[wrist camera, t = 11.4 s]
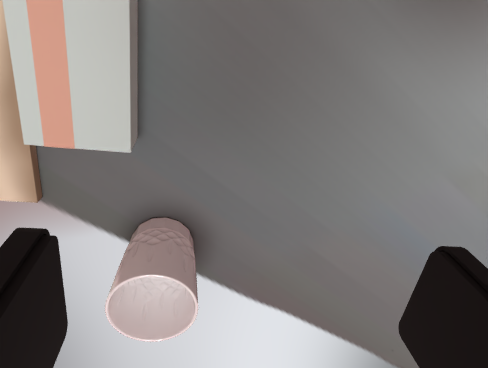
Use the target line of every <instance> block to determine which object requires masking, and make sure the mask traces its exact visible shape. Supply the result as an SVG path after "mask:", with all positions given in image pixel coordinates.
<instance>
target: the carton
mask: <svg viewBox="0 0 488 368" xmlns="http://www.w3.org/2000/svg"><path fill="white" fill-rule="evenodd" d="M2 1H3V8H4V14H5V21H6V28H7V34H8V41H9V48H10V54H11V61H12V68H13V74H14V81H15V88H16V94H17V101H18V108H19V114H20V121H21V128H22V134H23V141H24V144H25V145H38V146H46V147H59V148H72V149H75V148H76V149H89V150H102V151H115V152H128V153H131V151H132V149H133V147H134V145H135V142H136V140H137V138H138V79H137V0H2Z"/></svg>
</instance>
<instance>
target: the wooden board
mask: <svg viewBox="0 0 488 368" xmlns="http://www.w3.org/2000/svg"><path fill="white" fill-rule="evenodd" d="M41 198H42V190H41V183H40V175H39V168H38V160H37V153H36V145H25V144H24V141H23V134H22V128H21V121H20V114H19V108H18V101H17V94H16V88H15V81H14V74H13V68H12V61H11V54H10V48H9V41H8V34H7V28H6V21H5V14H4V8H3V1H2V0H0V201H17V202H36V203H38V201H39V200H40V199H41Z"/></svg>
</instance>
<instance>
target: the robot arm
mask: <svg viewBox="0 0 488 368" xmlns="http://www.w3.org/2000/svg"><path fill="white" fill-rule="evenodd" d="M67 323H68V322H67V312H66V305H65V296H64V287H63V279H62V270H61V262H60V254H59V245H58V239H57V237H56V236H50V234H49V232H48V230H47V229H37V228H17V229H15V230H14V231H13V233H12V234H11V235H10V236H9V238H8V239H7V240H6V241H5V242H4V243H3V245H2V246H1V247H0V368H53V366H54V364H55V361H56V359H57V356H58V354H59V352H60V349H61V346H62V344H63V341H64V339H65V336H66V332H67ZM399 334H400V336H401V338H402V340H403V342H404V343H405V345H406V347H407V348H408V350H409V351H410V353H411V355H412V356H413V358H414V360H415V361H416V363H417V365H418V366H419V368H488V268H486V267H485V266H484V265H483V264H482V263H481V262H480V261H479V260H478V259H477V258H475V257H474V256H473V255H472V254H471V253H470V252H469V251H468V250H466V249H465V248H462V247H449V246H441V247H438V248H437V249H436V250H435V251H434V252H432V253H431V254H430V256H429V258H428V260H427V262H426V264H425V267H424V269H423V271H422V273H421V275H420V278H419V280H418V282H417V284H416V287H415V289H414V291H413V293H412V295H411V298H410V300H409V302H408V304H407V307H406V309H405V311H404V313H403V316H402V318H401V320H400V322H399Z"/></svg>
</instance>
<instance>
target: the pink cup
mask: <svg viewBox="0 0 488 368" xmlns="http://www.w3.org/2000/svg"><path fill="white" fill-rule="evenodd" d="M196 279H197V278H196V266H195V255H194V246H193V239H192V236H191V234H190V231H189V229H187V228H186V227H185V226H184V225H183V224H182V223H180V222H179V221H176V220H173V219H169V218H166V217H165V218H152V219H150V220H148V221H146V222H144V223H142V224H140V225H139V227H138V228H137V229H136V231H135V232H134V233H133V235H132V237H131V240H130V243H129V245H128V247H127V249H126V252H125V253H124V256H123V259H122V261H121V263H120V266H119V268H118V271H117V274H116V276H115V279H114V282H113V284H112V287H111V289H110V292H109V295H108V297H107V300H106V304H105V313H106V316H107V319H108V321H109V322H110V324H111V325H112V326H113V327H114V328H115V329H116V330H117V331H118V332H120V333H121V334H123V335H125V336H127V337H129V338H132V339H135V340H140V341H152V342H153V341H163V340H167V339H170V338H173V337H176V336H178V335H180V334H182V333H183V332H184V331H186V330H187V329H188V328H189V327H190V326H191V325H192V324H193V322H194V321H195V319H196V316H197V312H198V297H197V280H196Z"/></svg>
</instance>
